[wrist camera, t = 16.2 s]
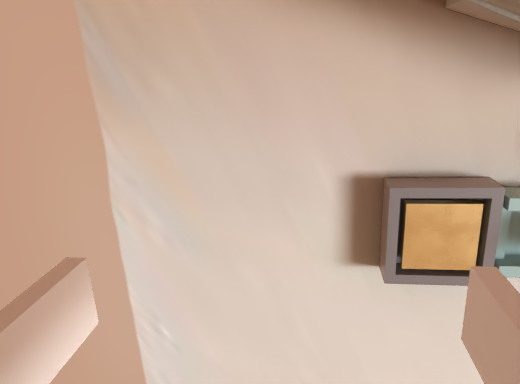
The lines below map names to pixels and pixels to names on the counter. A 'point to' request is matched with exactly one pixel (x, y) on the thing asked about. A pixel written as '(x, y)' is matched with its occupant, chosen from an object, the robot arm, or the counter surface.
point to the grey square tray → (437, 190)
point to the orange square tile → (440, 234)
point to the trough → (509, 235)
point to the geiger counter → (490, 11)
